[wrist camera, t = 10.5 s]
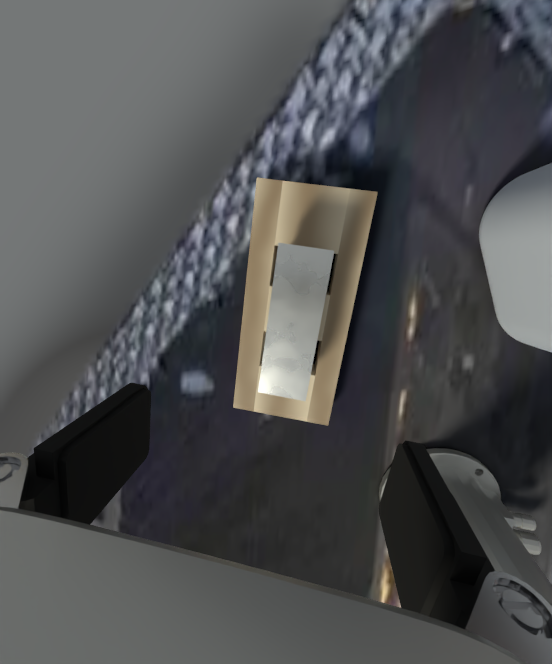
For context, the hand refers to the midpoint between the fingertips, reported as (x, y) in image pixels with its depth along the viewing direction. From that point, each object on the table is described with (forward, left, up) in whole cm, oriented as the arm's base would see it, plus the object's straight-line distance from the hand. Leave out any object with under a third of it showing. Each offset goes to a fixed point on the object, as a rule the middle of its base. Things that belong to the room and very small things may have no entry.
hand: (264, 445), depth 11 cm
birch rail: (0, -1, -20) cm, 20 cm away
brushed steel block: (0, -1, -20) cm, 20 cm away
